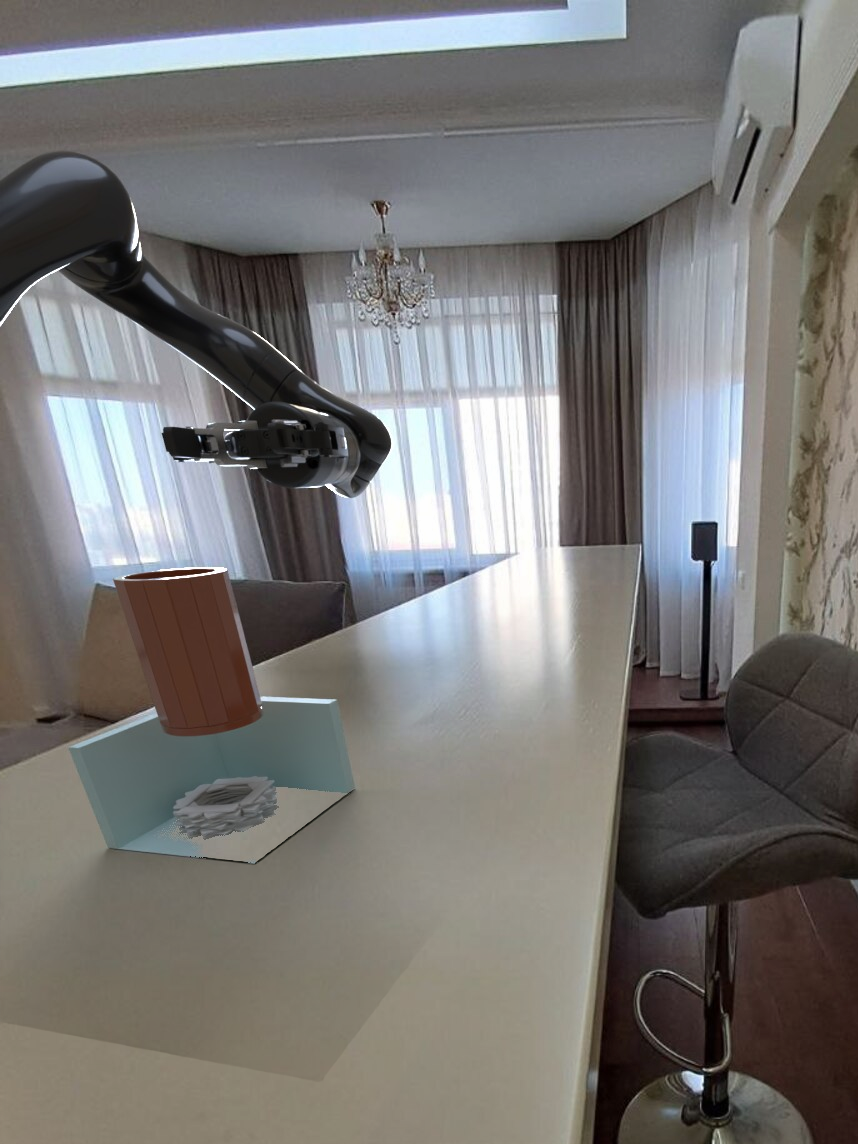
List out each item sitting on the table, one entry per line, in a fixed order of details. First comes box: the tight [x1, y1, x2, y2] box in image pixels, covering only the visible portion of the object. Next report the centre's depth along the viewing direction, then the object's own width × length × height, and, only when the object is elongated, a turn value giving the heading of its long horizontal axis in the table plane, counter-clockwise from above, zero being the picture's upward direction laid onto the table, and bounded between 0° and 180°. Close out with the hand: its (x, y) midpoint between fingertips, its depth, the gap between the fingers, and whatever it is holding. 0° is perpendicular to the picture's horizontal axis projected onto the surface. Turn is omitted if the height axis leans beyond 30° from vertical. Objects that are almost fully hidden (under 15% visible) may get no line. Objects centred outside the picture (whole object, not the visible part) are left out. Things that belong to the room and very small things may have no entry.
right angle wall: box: [67, 695, 356, 864], centre depth 50 cm, size 12×12×8 cm
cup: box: [112, 566, 263, 736], centre depth 46 cm, size 6×6×10 cm
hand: (222, 439), depth 55 cm, fingers open, 8 cm apart
